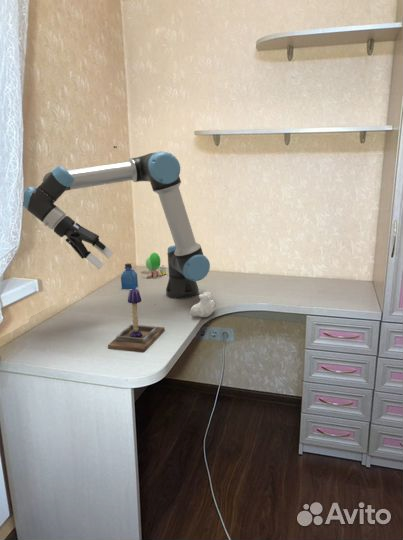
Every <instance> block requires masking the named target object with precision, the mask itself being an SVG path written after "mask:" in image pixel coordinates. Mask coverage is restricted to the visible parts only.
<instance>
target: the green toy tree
mask: <svg viewBox="0 0 403 540" xmlns="http://www.w3.org/2000/svg"><path fill="white" fill-rule="evenodd" d="M145 266H146V269H147V270H148V271H149V272H150V274H151V275H150V274H149V275H150V276H149V277H152V276H153V277H152V278H154V277H159V275H161V274H162V275H163V274H166V275H165V276H162V275H161V276H162V277H161V278H160V279H162V278H166V277H167V276H168V273H167V268H166V266H164V265H162V266H161V257H160V256H159V254H158V253H157V252H152V253H151V254H150V255H149V257H148V258H146V260H145ZM159 272H160V273H161V274H159Z"/></svg>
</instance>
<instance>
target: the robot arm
mask: <svg viewBox="0 0 403 540" xmlns="http://www.w3.org/2000/svg"><path fill="white" fill-rule="evenodd" d="M180 174H181V164H180V162H179V160H178V158H177V157H176V156H175V155H174V154H172V153H171V152H166V151H163V150H162V151H157V152H150V153H147V154H144V155H141V156H137V157H132V158H131V157H130V158H129V159H128V161H119V162H113V163H108V164H101V165H93V166H86V167H80V168H72V169H66V168H64V167H63V166H62V165H57V166H56V167H55V168H54V169H52V170H51V171H50V172H49V171H48V173H46V174H44V176H43V179H42V183H40V185H38V187H34V186H28V187H27V188H26V189H24V191H23V192H24V202H23V205H22V206H23V207H24V208H25V210H27V212H29V213H30V214H32V215H33V216H35V218H37V219H38V220H39V221H40V222H42V223H43V225H44V226H45V227H48V228H49V229H50V230H53V233H55V234H56V235H58V237H60V238H63V237H64V236H65V237H66V238H65V242H67V243H68V244H69V245H70V246H71V248H73V250H74V251H75V252H76V253H77V255H78V256H79V257H80V258H81V259H83V260H84V259H86V260H88V261H89V262H90V263H91V264H92V265H93V266H94V267H96V268H97V269H98V270H100V269H101V268H103V266H104V265H105V262H103V261H101V260H100V259H99V258H98V257H97V256H95V254H93V253H92V252H91V251H90V250H89V251H88V248H87V247H86V245H85V244H84V243H83V242H86V243H88V244H91V245H92V247H94V248H95V249H97V250H98V251H99V252H100V253H101V254H102V255H103V256H105V257H106V258H107V259H110V258H111V257H112V256H113V255H114V253H115V252H114V251H113V250H111V249H110V247H108V246H107V245H105V244H104V243H103V242H101V240H100V239H99V238H100V236H99V234H96V233H95V232H93V231H91V230H89V229H87V228H85V227H83V226H81V225H80V224H79V223H78V222H76V221H75V220H74V219H73V218H72V217H70V216H68V215H67V214H66V213H65V212H64V211H63V210H62V209H61V208H60V207H58V206H57V205H55V203H56V202H57V200H59V198H60V197H61V196H62V195H63V194H64V193H65V192H67V191H71V190H78V189H84V188H90V187H91V188H92V187H98V186H103V185H109V184H110V185H111V184H115V183H122V182H128V181H129V182H130V181H132V182H134V183H137V182H149V183H150V186H151V189H152V191H153V192H154V193H155V194H157V195H158V198H159V200H160V204H161V207H162V209H163V212H164V215H165V219H166V222H167V225H168V228H169V231H170V234H171V236H172V240H173V243H174V244H173V245H169V246H168V247H167V253H166V255H167V264H168V265H167V266H168V281H167V285H166V288H165V295H166V296H167V297H169V298H170V299H189V298H194V297H197V296H199V291H200V289H199V285H198V283H197V282H198V281H201V280H203V279H205V277H207V276H208V273H209V272H210V269H211V263H210V260H209V259H208V257H207V256H206V255H205V254H204V252H203V248H202V246H201V244H199V243H198V242H197V241H196V238H195V236H194V232H193V228H192V226H191V223H190V219H189V217H188V213H187V208H186V206H185V203H184V201H183V196H182V194H181V191H180V185H181V184H182V180H181V178H180V177H181V176H180Z"/></svg>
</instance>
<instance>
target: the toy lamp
mask: <svg viewBox="0 0 403 540" xmlns="http://www.w3.org/2000/svg"><path fill="white" fill-rule="evenodd" d="M127 303H128V304H131V306H132V307H131V308H132V322H133V323H132V325H133V331H132V332H131V334H130V337H136V338H140V337H142V333H141V331H139V330H138V325H139V315H138V304H139V303H142V297H141V294H140V290H139V289H137V288H135V289H132V290H129V293H128V296H127Z"/></svg>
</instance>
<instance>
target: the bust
mask: <svg viewBox="0 0 403 540" xmlns="http://www.w3.org/2000/svg"><path fill="white" fill-rule="evenodd" d="M198 297H199V299H200V300H199V302H198V303H195V304H194V305H192V306H191V309H190V311H189V312H190V316H191V317H192V318H196V317H199V318H208V317H209V316H211V314H212V313H214V308H215V306H216V303H215V301H214V300H213V299H212V293H211V292H210V291H203V293H200V294H198Z"/></svg>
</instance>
